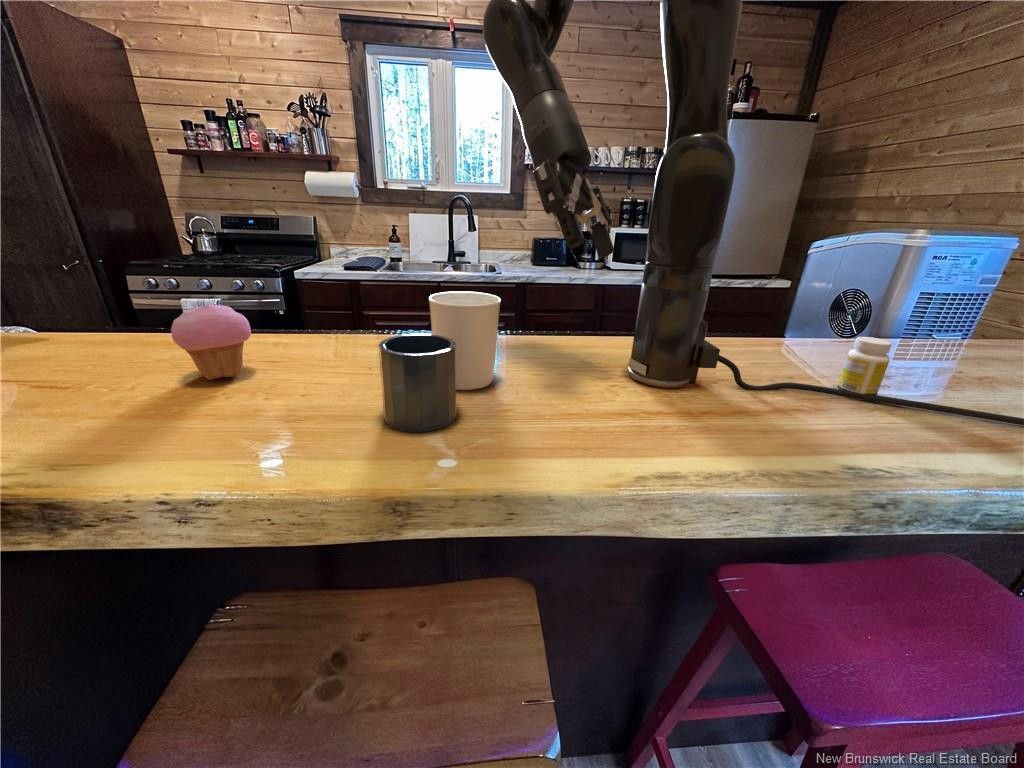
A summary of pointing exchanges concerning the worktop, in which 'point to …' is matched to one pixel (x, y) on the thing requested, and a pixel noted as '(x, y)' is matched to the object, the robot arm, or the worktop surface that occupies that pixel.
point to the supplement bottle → (865, 366)
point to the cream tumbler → (468, 333)
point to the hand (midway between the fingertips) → (592, 250)
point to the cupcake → (213, 339)
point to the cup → (418, 381)
